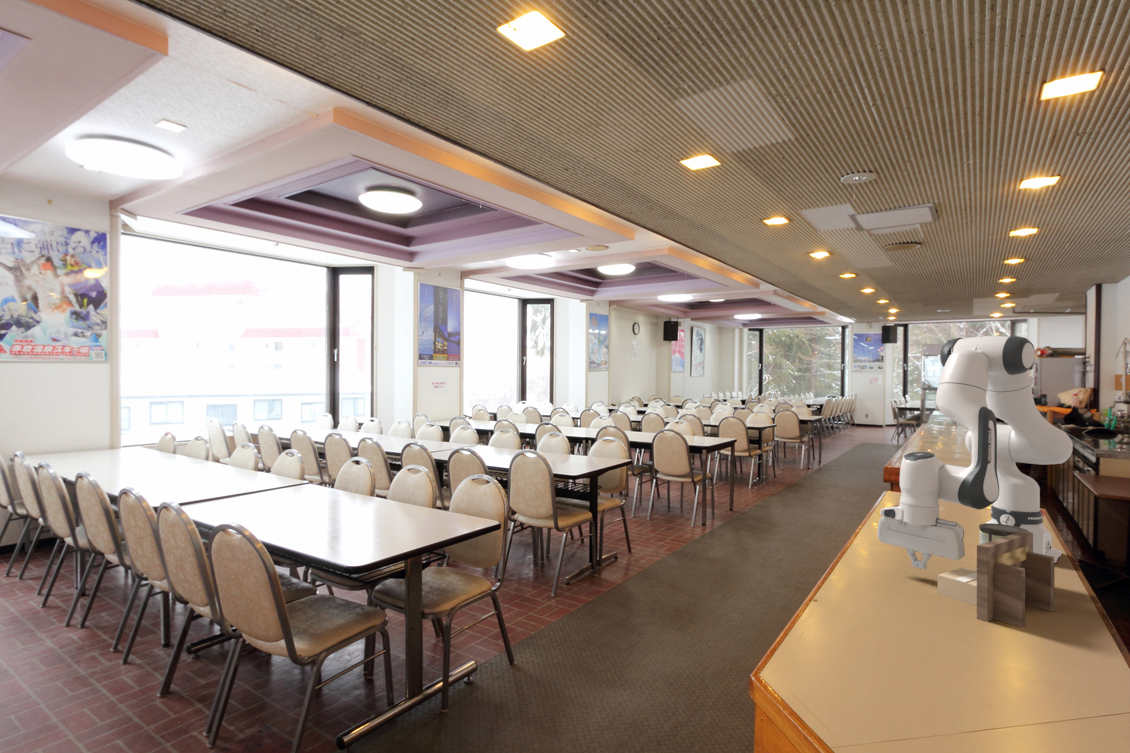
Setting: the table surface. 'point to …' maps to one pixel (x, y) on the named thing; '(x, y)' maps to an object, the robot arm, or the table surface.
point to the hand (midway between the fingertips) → (919, 567)
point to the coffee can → (996, 531)
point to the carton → (959, 585)
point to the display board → (1013, 579)
